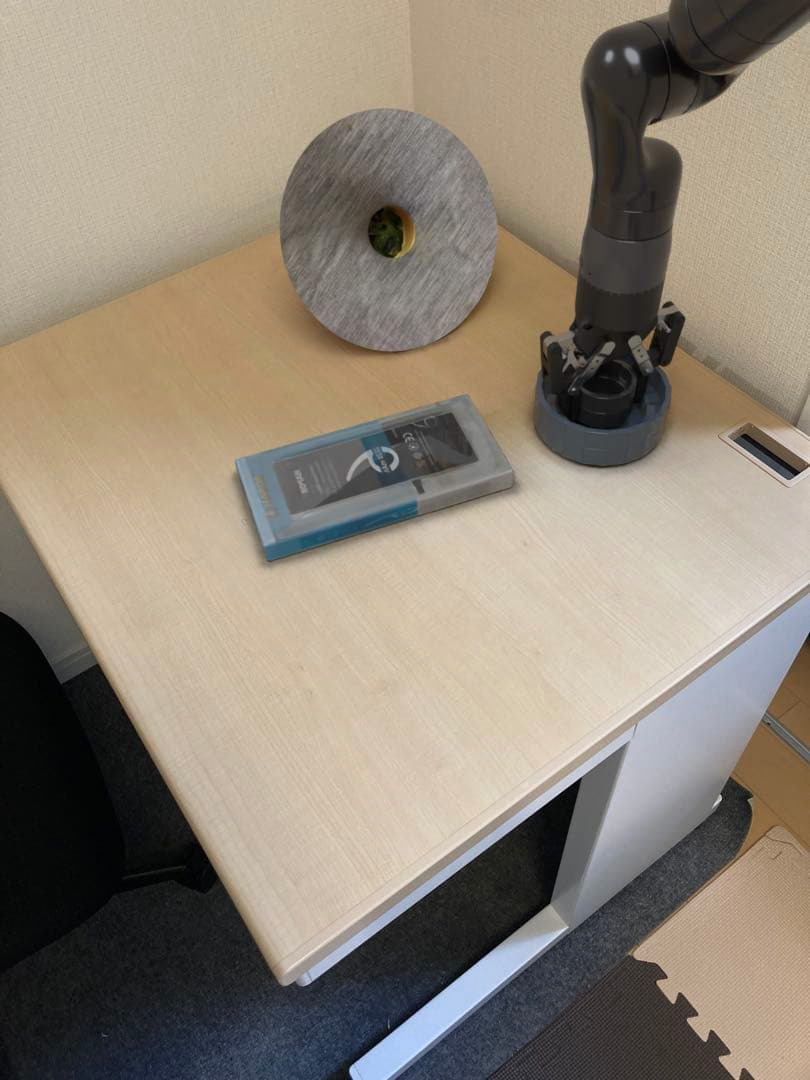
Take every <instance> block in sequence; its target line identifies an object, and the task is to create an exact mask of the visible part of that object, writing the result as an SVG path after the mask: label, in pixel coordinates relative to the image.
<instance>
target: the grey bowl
mask: <svg viewBox="0 0 810 1080" xmlns="http://www.w3.org/2000/svg"><path fill="white" fill-rule="evenodd" d="M571 348H572V347H569V348H568V350H567V353H566V355H568V353H569V351H570V349H571ZM583 357H584V359H585V360H587V358H586V357H585V356H584V354H583ZM567 360H568V358H567V357H566V359H563V367H564V365H565V364H566V362H567ZM621 361H624V362H625V363H627V364H628V365H629V364H633V361H632V359H631V357H630V355H629V356H628V358H626V359H622V360H621ZM672 392H673V387H672V384H671V381H670V380H669V377H668V375H667V373H666V372H665V371H664V369H663V368H661V366H660V365H659V366H657V367H655V368H654V370H653V372H652V373H651V374H650V375H649V378H648V383H647V388H646V392H645V394H644V396H643V397H641V399H640V402H639V403H636V404H633V406H632V411H631V414H630V416H629V417H628V418H627V420H626V421H625V422H623V423H621V424H619V425H618V426H615V427H613V428H609V429H594V428H590V427H587V426H585V425H583V424H582V423H580V422H579V421H578V420H577V419H574V420H570V421H569V420H568V418H567V417H564V415H563V413H562V412H561V410H560V409H559V407H558V398H559V397H558V396H559V394H556V395H554V394H552V392H551V391H550V389H549V388H548V386H547V384H546V383H545V381H544V380H543V378H542V372H541V369H540V370H539V371H538V373H537V377H536V384H535V390H534V403H533V413H532V414H533V415H532V420H533V423H534V428H535V431H536V434H537V435H538V436H539V437H540V439H541V441H542V442H544V444H545V445H546V446H547V447H548V448H550V449H551V450H552V451H553V452H555V453H557V454H558V455H560V456H561V457H563V458H566V459H568V460H571V461H574V462H577V463H579V464H583V465H591V466H599V467H606V466H607V467H608V466H615V465H623V464H627V463H630V462H633V461H636V460H639V459H641V458H643V457H644V456H645V455H647V454H648V453H650V451H652V450H653V449H654V448H656V447H657V445H658V444H659V442H660V441H661V438H662V437H663V435H664V432H665V428H666V424H667V419H668V416H669V412H670V408H671V403H672Z"/></svg>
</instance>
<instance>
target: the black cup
mask: <svg viewBox="0 0 810 1080" xmlns="http://www.w3.org/2000/svg"><path fill="white" fill-rule="evenodd" d="M587 361H588V359H587V360H586V362H587ZM575 374H576V371H575V372H574V374H573V377H574V375H575ZM636 385H637V375H636V373H635V371H634V369H633V368H632V367H630V366H629V365H628V364H627V363H625V362H624V361H621V360H613V361H610V362H608V363H606V364H602V365H600V367H599V368H598V370H597V371H596V373H595V374H594V376H593V377H592V378H587V380H586V381H585V383H584V384H583V386H582V387H581V389H580V390H579V392H580V399H579V407H578V414H577V420H578V421H579V422H580V423H582V424H583V425H585V426H587V427H590V428H594V429H609V428H613V427H615V426H618V425H619V424H621V423H623V422H625V421H626V420H627V418H628V417H629V416H630V414H631V411H632V406H633V400H634V395H635V390H636Z"/></svg>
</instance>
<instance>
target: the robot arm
mask: <svg viewBox="0 0 810 1080" xmlns="http://www.w3.org/2000/svg"><path fill="white" fill-rule="evenodd" d="M809 23H810V0H670V2H669V5H668V9H667V11H666V12H662V13H659V14H655V15H651V16H648V17H645V18H641V19H637V20H634V21H631V22H626V23H623V24H620V25H617V26H614V27H613V26H612V27H610V28H608V29H607V30H605V31H603V32H602V33H601V34H600V35H598V36H597V37H596V39H595V40H594V41H593V42H592V44H591V46H590V47H589V49H588V51H587V53H586V56H585V58H584V61H583V63H582V68H581V72H580V77H579V78H580V79H579V81H580V83H579V85H580V86H579V89H580V97H581V104H582V109H583V114H584V119H585V124H586V125H585V126H586V131H587V137H588V145H589V152H590V159H591V167H592V180H591V186H590V196H589V204H588V212H587V217H586V218H587V219H586V224H585V227H584V230H583V234H582V240H581V247H580V254H579V257H578V273H577V281H576V290H575V299H574V319H573V321H572V322H571V324H570V325H569V328H568V330H566V331H563V332H561V333H558V334H553V332H551V331H550V330H546V331H543V332H542V333H541V334H540V336H539V349H540V351H539V352H540V370H541V372H542V378H543V380H544V381H545V383H546V384H547V386H548V388H549V389H550V391H551V392H552V394H554V395H556V394H559V396H558V397H559V398H558V407H559V409H560V410H561V412H562V413H563V415H564V417H567V418H568V420H569V421H570V420H574V419H577V414H578V407H579V399H580V392H579V390H580V389H581V387H582V386H583V384H584V383H585V381H586V380H587V378H592V377H593V376H594V374H595V373H596V371H597V370H598V368H599V367H600V365H602V364H606V363H608V362H610V361H613V360H622V359H626V358H628V356H629V355H630V357H631V359H632V361H633V364H629V366H630V367H632V368H633V369H634V371H635V373H636V375H637V385H636V390H635V395H634V400H633V404H636V403H639V402H640V399H641V397H643V396H644V394H645V392H646V388H647V383H648V378H649V375H650V374H651V373H652V372H653V370H654V368H655V367H657V366H660V368H661V367H662V368H666V367H668V366H670V364H671V363H672V361H673V357H674V354H675V351H676V348H677V347H678V343H679V340H680V338H681V334H682V332H683V329H684V326H685V322H686V316H685V315H684V314H683V313H682V311H681V310H680V309H679V307H678V306H677V305H676V304H675V303H674V302H673V301H672V300H668V301H666V302H664V303H663V304H662V306H661V301H662V296H663V290H664V286H665V281H666V277H667V272H668V266H669V261H670V256H671V252H672V244H673V227H674V221H675V216H676V211H677V205H678V201H679V196H680V191H681V186H682V178H683V169H684V165H683V159H682V156H681V153H680V151H679V150H678V149H677V148H676V147H675V146H674V145H672V144H671V143H670V142H668V141H666V140H664V139H661V138H657V137H653V136H645V134H646V131H647V128H648V127H649V126H652V125H656V124H658V123H662V122H664V121H668V120H671V119H674V118H676V117H680V116H684V115H687V114H689V113H692V112H694V111H697V110H699V109H701V108H704V107H705V106H707V105H708V104H710V103H712V102H713V101H715V100H717V99H718V98H719V97H720V96H722V95H723V94H724V93H725V92H727V91H728V90H729V89H730V87H731V86H733V85H734V84H735V82H736V81H737V80H738V79H739V78H740V76H741V75H743V73H744V72H745V71H746V70H747V68H748V67H749V66H750V64H752V63H754V62H755V61H756V60H758V59H759V58H761V57H763V56H764V55H766V54H767V53H768V52H770V51H771V50H772V49H774V48H775V47H778V45H780V44H781V43H783V42H785V41H786V40H787V39H788V38H791V37H792V36H793V35H794V34H796V33H797V32H799V31H800V30H801V29H803V28H804V27H806V26H807V25H808V24H809ZM660 306H661V308H660ZM653 330H654V331H653ZM652 331H653V334H652V337H651V341H650V343H649V346H648V349H646V347H645V346H644V341H645V340H646V339H647V337H648V336H650V334H651V333H652ZM570 348H571V349H570ZM568 349H570V351H569V353H568V355H566V353H567V350H568ZM583 354H584V356H585V357H586V358H587V359H588V361H587V362H586V360H585V359H584V357H583ZM566 357H567V358H568V360H567V362H566V364H565V365H564V367H563V359H566ZM575 371H576V374H575V375H574V377H573V374H574V372H575Z"/></svg>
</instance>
